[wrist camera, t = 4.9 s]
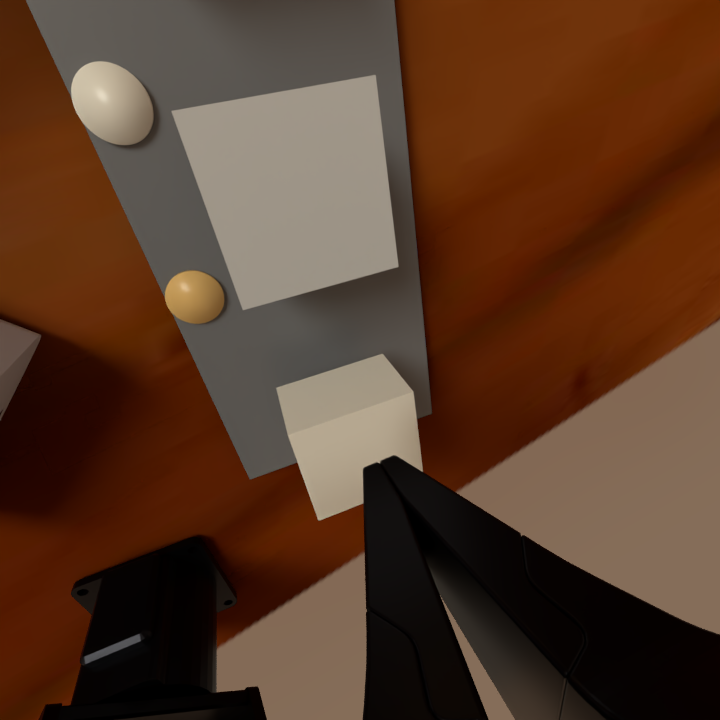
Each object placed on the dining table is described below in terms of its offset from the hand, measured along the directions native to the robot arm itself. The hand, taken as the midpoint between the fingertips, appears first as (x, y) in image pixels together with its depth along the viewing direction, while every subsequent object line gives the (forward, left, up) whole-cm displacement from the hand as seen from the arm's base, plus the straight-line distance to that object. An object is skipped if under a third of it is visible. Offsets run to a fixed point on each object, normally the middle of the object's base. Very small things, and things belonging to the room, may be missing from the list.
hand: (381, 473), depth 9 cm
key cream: (-3, 0, -7) cm, 8 cm away
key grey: (+6, 0, -7) cm, 9 cm away
